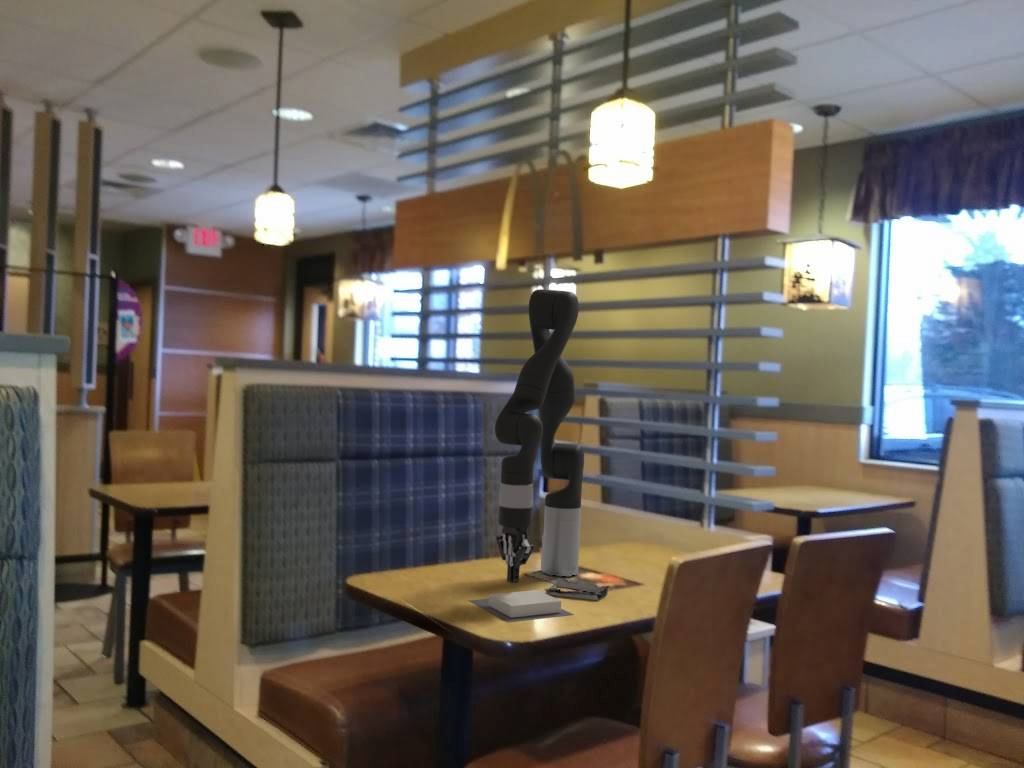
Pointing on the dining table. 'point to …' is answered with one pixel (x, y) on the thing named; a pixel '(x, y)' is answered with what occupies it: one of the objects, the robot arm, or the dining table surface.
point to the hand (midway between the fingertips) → (512, 582)
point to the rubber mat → (485, 605)
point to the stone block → (524, 603)
